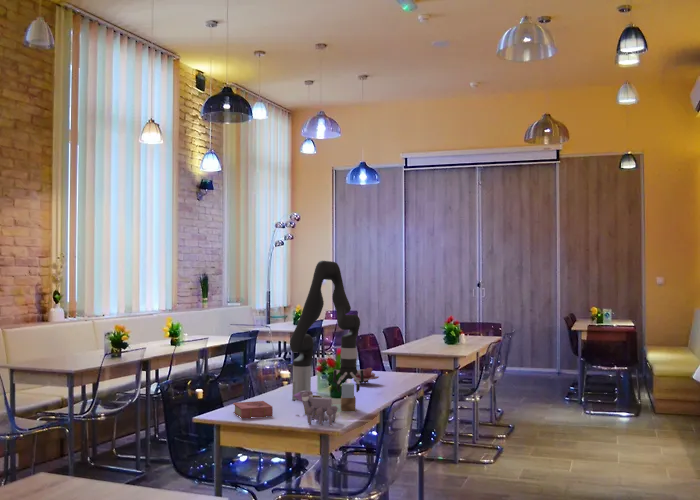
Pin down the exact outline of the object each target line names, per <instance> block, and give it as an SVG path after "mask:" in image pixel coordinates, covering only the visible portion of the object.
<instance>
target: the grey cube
mask: <svg viewBox="0 0 700 500" xmlns="http://www.w3.org/2000/svg"><path fill="white" fill-rule="evenodd" d="M341 396H342V398H354V396H355V383H354V382H342V383H341Z"/></svg>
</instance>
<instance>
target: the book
mask: <svg viewBox="0 0 700 500" xmlns="http://www.w3.org/2000/svg"><path fill="white" fill-rule="evenodd" d="M233 406H234V411H233V412H232V413H233V414H234V413H235V414H236V415H235V414H234V415H235V416H237V415H238V416H240V417H241V418H248V419H250V418H251V417H262V418H264V417H265V418H267V417H266V416H272V417H273V414H274V413H273V412H274V411H273V409H274V408H273V405H271V404H269V403H268V402H266V401H264V400H257V401H256V400H255V401H243V402H242V401H240V402H239V401H238V402H233ZM238 416H237V417H238ZM241 418H240V419H241ZM251 419H252V418H251Z"/></svg>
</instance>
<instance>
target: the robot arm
mask: <svg viewBox="0 0 700 500" xmlns="http://www.w3.org/2000/svg"><path fill="white" fill-rule="evenodd" d="M324 280H327V281H331V282H332V284H333V287H334V288H333V291H332V296H331V297H332V298H331V299H332V303H333V305H334V308H335V310H336V317H337V318H336V319H337V326H338V328H339V329H340V330H343V331H348V330H349V331H348V333H346V334H344V335H342V336H341V338H340V339H341V341H340V344H341V346H340V347H341V348H340V368H339V369H336V368H334V369H333V376H332V382H333V383H334V384H336V391H337V392H338V393H340V392H341V382H342V381H344V380H353V381H354V380H355V381H356V382H357V383H356V382H355V381H354V382H355V384H356V389H355V390H356V393H359V391H360V388H361V384H363V383H364V378H363V370H362V369H361V368H360V369H357V365H358V364H357V362H358V361H357V356H358V355H357V354H358V353H357V352H358V351H357V337H358V333H359V330H360V327H361V320H360V317H359V316H358V315H357V314H348V313H350V311H351V310H352V307H351V305H350V302H349V298H348V297H347V294H346V292H345V286H344V283H343V277H342V272H341V268H340V265H339V264H338V263H337V262H336V261H332V260H331V261H329V260H319V261H318V262H317V263H316V266H315V268H314V273H313V277H312V281H311V285H310V288H309V291H308V294H307V296H306V300H305V301H304V302H305V303H304V305H303V308H302V310H301V314H300V317H299V320H298V322H297V324H296V326H295V329H294V331H293V333H292V335H291V337H290V342H289V349H290V351H291V352H293V353H295V354H299V355H298V356H297V357H296V358H294V359H293V360H292V389H291V390H292V395H291V396H292V399H291V400H292V401H296V400H298V399H297V398H296V397H294V396H293V395H295V394H297V393H299V392H300V391H311V389H312V388H311V383H312V382H311V381H312V380H311V379H312V372H311V371H312V368H311V367H312V362H313V356H314V354H313V353H314V340H313V337H312V336H311V334H308V333H307V332H308V331H309V329H310V328H311V327H312V326H313V325H314V324H315V323H316V322H317V321H318V319H319V318H320V316H321V313H322V310H323V308H324V305H325V304H324V302H325V301H324V298H323V297H324V296H323V293H322V285H323V283H324ZM357 372H358V373H359V374H360V376H361V380H358V379H357V378H356V376H355V375H356V374H357ZM338 374H340V377H339V378H338V379H337V375H338Z"/></svg>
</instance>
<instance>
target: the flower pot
mask: <svg viewBox="0 0 700 500" xmlns="http://www.w3.org/2000/svg"><path fill="white" fill-rule="evenodd" d="M314 397H319V398H323V396H322V395H321V396H320V395H316V394H313V398H314ZM311 405H312V403H311ZM310 408H311V407H310ZM306 409H307V408H304V416H307V413H306ZM310 415H311V416H312V414H310ZM315 416H318V415H317V413H316V411H315Z"/></svg>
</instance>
